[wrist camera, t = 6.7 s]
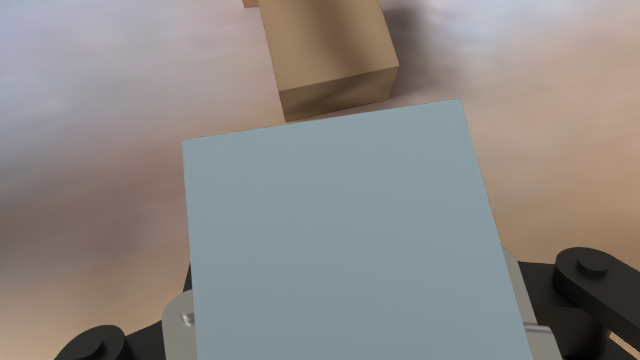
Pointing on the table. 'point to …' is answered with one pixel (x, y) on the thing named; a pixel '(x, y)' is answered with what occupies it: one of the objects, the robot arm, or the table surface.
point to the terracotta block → (250, 3)
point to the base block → (328, 54)
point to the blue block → (348, 242)
